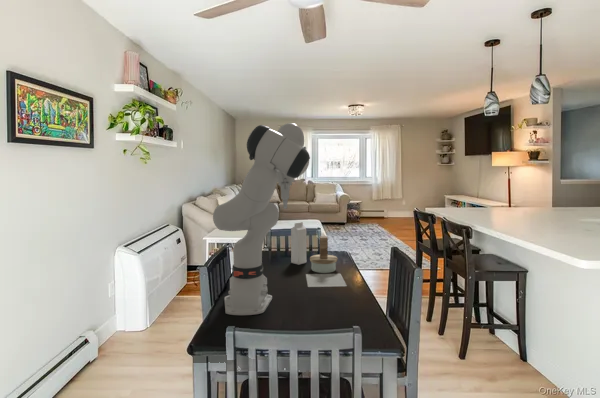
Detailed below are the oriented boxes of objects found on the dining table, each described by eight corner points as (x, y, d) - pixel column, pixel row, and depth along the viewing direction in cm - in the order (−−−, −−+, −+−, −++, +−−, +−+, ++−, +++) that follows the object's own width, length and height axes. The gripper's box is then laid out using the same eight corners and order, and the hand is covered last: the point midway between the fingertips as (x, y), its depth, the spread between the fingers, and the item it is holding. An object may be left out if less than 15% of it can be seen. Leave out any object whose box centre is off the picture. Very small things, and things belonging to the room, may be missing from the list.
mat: (346, 287, 156) (346, 286, 156) (308, 287, 155) (308, 286, 155) (340, 274, 174) (340, 273, 174) (305, 275, 173) (305, 274, 173)
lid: (339, 263, 174) (339, 239, 173) (310, 264, 174) (310, 240, 172) (335, 256, 188) (335, 233, 187) (308, 256, 187) (308, 234, 186)
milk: (306, 262, 195) (306, 222, 192) (298, 264, 190) (298, 224, 188) (299, 260, 199) (299, 221, 197) (290, 262, 195) (290, 222, 193)
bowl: (336, 273, 176) (337, 263, 175) (312, 273, 175) (312, 263, 175) (333, 266, 187) (333, 256, 187) (310, 266, 187) (310, 257, 187)
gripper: (292, 179, 158) (292, 210, 159) (291, 177, 178) (291, 204, 180) (277, 179, 158) (278, 210, 159) (278, 177, 178) (279, 204, 179)
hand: (285, 207), depth 169 cm, fingers open, 8 cm apart
